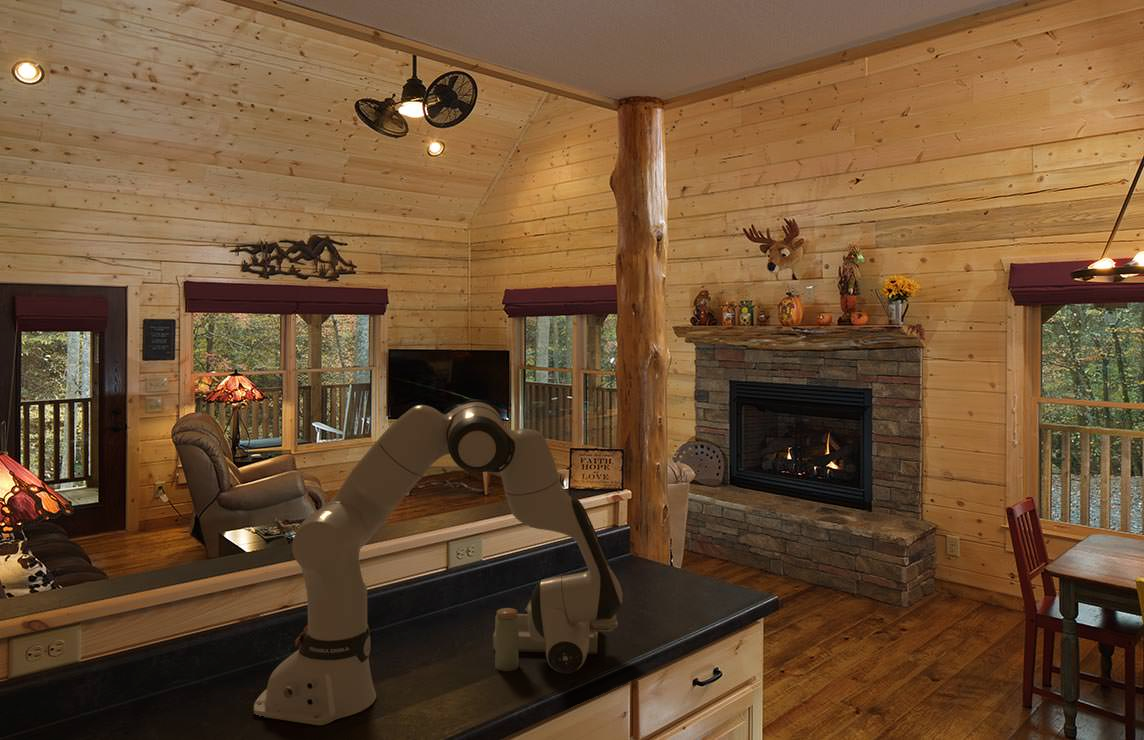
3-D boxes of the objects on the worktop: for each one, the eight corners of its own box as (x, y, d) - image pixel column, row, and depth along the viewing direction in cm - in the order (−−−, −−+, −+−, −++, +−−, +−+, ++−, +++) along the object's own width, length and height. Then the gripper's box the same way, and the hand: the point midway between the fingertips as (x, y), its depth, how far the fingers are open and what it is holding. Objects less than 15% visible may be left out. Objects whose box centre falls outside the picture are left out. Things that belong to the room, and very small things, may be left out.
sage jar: (493, 670, 160) (493, 615, 160) (497, 660, 165) (497, 607, 165) (516, 671, 160) (517, 616, 160) (519, 661, 165) (520, 607, 165)
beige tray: (493, 650, 171) (493, 635, 171) (502, 627, 184) (502, 613, 184) (596, 653, 169) (596, 638, 169) (598, 630, 183) (598, 616, 183)
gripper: (618, 614, 162) (617, 592, 176) (523, 611, 163) (530, 589, 177) (617, 642, 162) (617, 618, 176) (523, 639, 163) (530, 616, 177)
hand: (573, 604), depth 176 cm, fingers open, 8 cm apart
